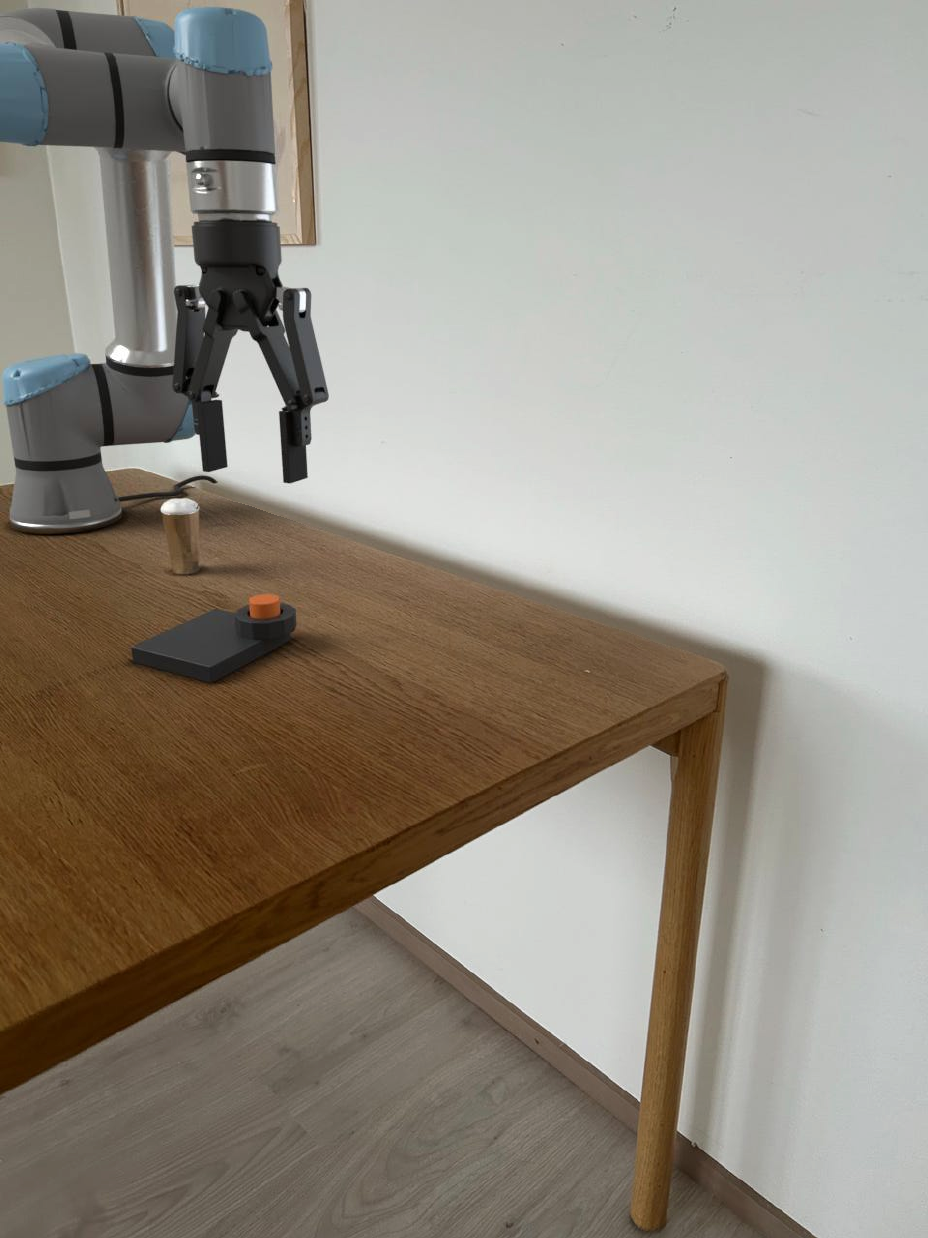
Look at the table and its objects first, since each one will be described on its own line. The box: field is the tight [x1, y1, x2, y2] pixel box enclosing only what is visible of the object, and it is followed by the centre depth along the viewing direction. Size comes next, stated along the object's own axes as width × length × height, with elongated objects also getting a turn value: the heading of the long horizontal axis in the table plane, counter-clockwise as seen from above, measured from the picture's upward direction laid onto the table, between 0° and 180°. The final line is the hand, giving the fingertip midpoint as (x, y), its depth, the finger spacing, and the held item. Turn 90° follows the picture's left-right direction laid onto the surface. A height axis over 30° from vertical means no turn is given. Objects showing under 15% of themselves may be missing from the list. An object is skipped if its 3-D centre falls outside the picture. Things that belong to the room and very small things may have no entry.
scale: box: [130, 602, 298, 684], centre depth 95 cm, size 13×12×4 cm
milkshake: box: [160, 493, 204, 576], centre depth 117 cm, size 4×5×10 cm
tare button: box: [248, 593, 281, 619], centre depth 96 cm, size 3×3×2 cm
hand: (254, 474), depth 91 cm, fingers open, 9 cm apart
